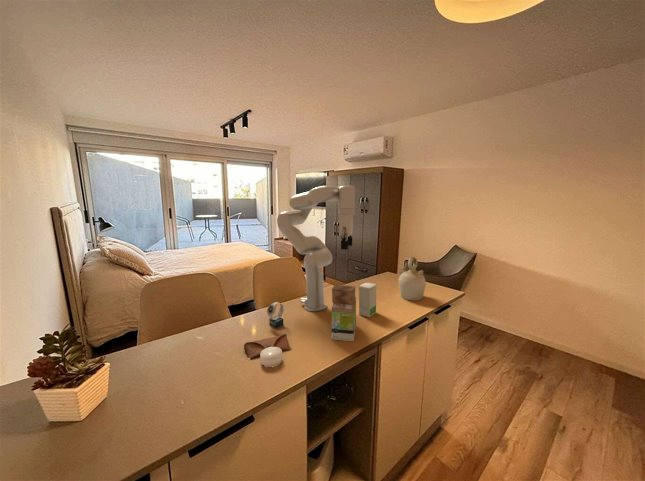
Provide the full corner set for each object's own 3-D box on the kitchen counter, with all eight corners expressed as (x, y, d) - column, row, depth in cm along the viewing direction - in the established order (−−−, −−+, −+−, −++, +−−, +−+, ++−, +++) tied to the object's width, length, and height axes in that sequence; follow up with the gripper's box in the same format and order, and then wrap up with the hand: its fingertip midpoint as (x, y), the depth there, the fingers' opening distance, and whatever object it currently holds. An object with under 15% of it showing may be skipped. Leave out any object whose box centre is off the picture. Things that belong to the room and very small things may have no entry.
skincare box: (369, 318, 131) (369, 288, 129) (357, 314, 135) (357, 285, 133) (376, 312, 138) (377, 283, 136) (365, 309, 142) (365, 281, 139)
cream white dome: (256, 365, 96) (255, 356, 95) (267, 353, 103) (267, 345, 102) (275, 370, 93) (275, 361, 92) (286, 357, 100) (285, 348, 100)
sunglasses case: (247, 361, 98) (244, 342, 100) (245, 361, 104) (243, 343, 106) (292, 349, 105) (289, 332, 107) (288, 349, 111) (286, 333, 113)
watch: (266, 325, 125) (264, 304, 123) (279, 320, 131) (278, 299, 129) (272, 329, 121) (271, 307, 120) (286, 323, 127) (285, 302, 125)
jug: (392, 295, 161) (394, 255, 157) (412, 291, 168) (413, 253, 164) (410, 304, 148) (412, 261, 144) (430, 299, 154) (433, 257, 150)
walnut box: (331, 302, 115) (331, 289, 114) (335, 297, 120) (335, 284, 119) (352, 305, 112) (352, 291, 111) (355, 299, 117) (355, 286, 116)
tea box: (354, 342, 110) (354, 308, 108) (331, 340, 112) (330, 307, 109) (356, 325, 125) (356, 295, 122) (335, 323, 126) (335, 294, 124)
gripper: (343, 211, 133) (343, 244, 136) (334, 213, 117) (334, 250, 119) (358, 211, 130) (357, 244, 133) (350, 213, 114) (350, 251, 117)
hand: (346, 247), depth 126 cm, fingers open, 9 cm apart
